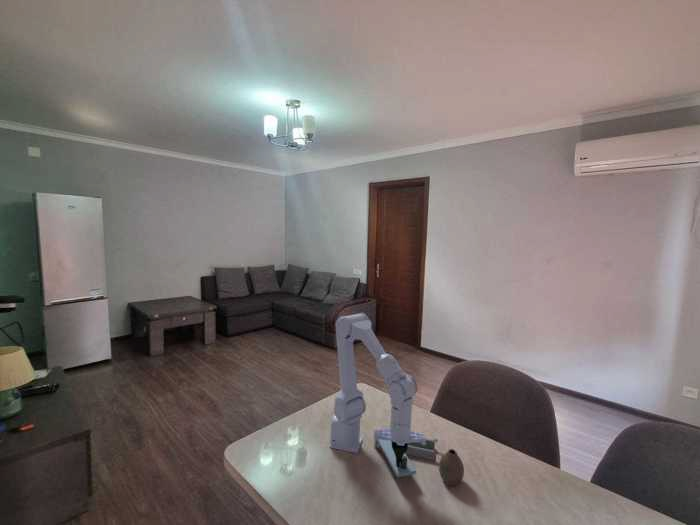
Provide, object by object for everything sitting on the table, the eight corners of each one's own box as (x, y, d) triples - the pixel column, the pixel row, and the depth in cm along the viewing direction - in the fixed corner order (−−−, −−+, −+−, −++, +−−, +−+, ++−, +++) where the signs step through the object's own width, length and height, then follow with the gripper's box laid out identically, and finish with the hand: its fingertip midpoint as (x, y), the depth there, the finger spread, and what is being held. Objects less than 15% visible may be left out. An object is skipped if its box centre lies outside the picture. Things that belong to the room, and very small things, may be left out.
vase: (464, 492, 88) (466, 462, 87) (438, 486, 89) (440, 457, 88) (461, 474, 94) (463, 446, 94) (437, 469, 96) (439, 442, 95)
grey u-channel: (373, 447, 104) (374, 437, 104) (377, 436, 111) (377, 426, 110) (436, 461, 99) (437, 450, 99) (436, 448, 105) (437, 437, 105)
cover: (372, 437, 105) (373, 427, 105) (390, 434, 107) (391, 424, 107) (394, 477, 88) (395, 465, 88) (415, 473, 90) (416, 462, 89)
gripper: (375, 425, 86) (372, 472, 87) (429, 430, 85) (425, 477, 86) (375, 411, 93) (372, 454, 94) (424, 415, 92) (421, 459, 93)
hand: (397, 464), depth 90 cm, fingers closed
